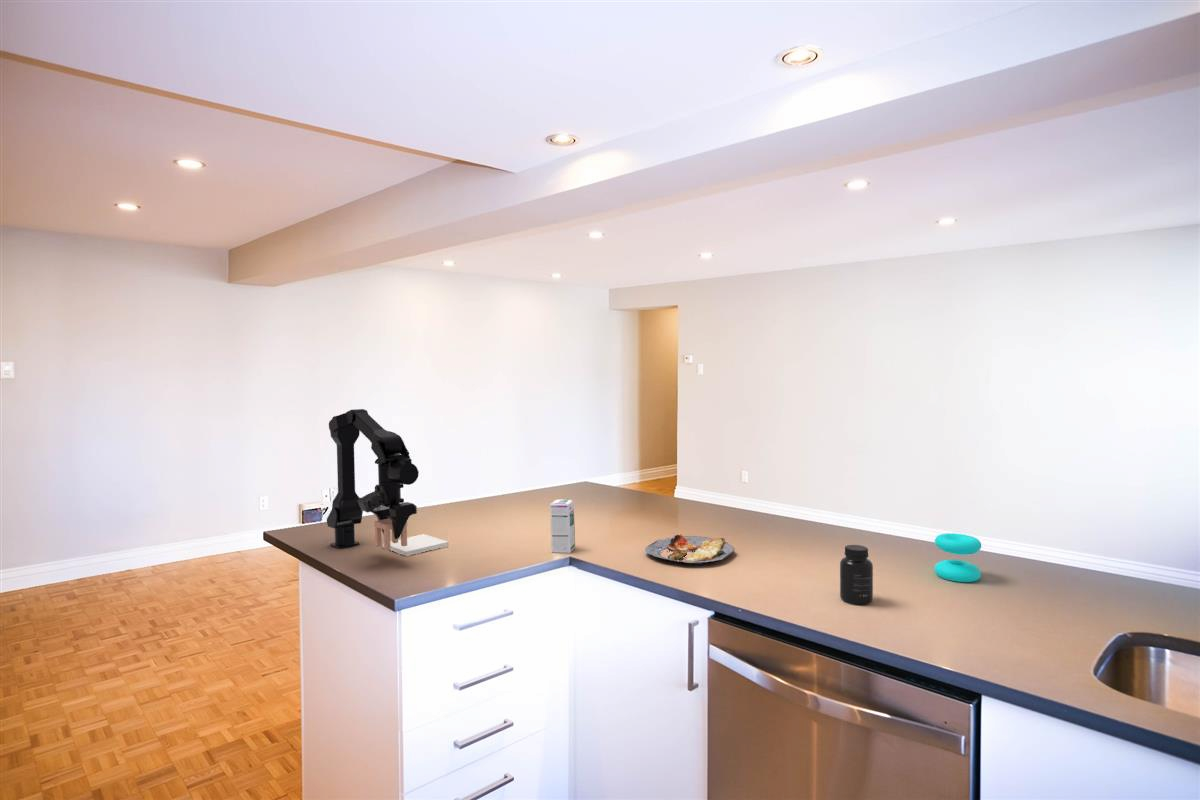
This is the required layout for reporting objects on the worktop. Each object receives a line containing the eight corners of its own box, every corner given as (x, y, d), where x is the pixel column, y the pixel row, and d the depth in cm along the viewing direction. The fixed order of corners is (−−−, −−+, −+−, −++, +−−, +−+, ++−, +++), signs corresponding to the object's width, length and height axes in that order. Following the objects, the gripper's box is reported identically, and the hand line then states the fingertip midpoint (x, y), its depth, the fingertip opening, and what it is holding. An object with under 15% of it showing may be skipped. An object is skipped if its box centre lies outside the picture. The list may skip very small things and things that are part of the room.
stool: (374, 546, 177) (374, 521, 177) (396, 541, 181) (395, 517, 181) (386, 550, 172) (385, 524, 172) (407, 545, 177) (407, 520, 177)
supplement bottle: (834, 595, 146) (834, 543, 145) (863, 594, 146) (863, 542, 146) (848, 606, 139) (848, 552, 138) (878, 605, 139) (879, 550, 139)
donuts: (990, 542, 152) (947, 542, 152) (989, 583, 152) (947, 584, 152) (967, 531, 162) (927, 532, 162) (966, 570, 162) (927, 571, 162)
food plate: (670, 538, 197) (670, 527, 197) (744, 549, 185) (744, 537, 185) (633, 562, 175) (632, 549, 175) (713, 575, 164) (713, 562, 163)
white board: (382, 547, 191) (382, 543, 191) (424, 538, 201) (423, 534, 201) (406, 556, 182) (406, 551, 181) (448, 546, 192) (448, 541, 192)
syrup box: (570, 553, 182) (569, 503, 182) (550, 552, 184) (549, 502, 183) (575, 548, 188) (574, 499, 187) (556, 547, 189) (555, 498, 189)
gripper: (345, 481, 177) (347, 536, 178) (378, 489, 164) (379, 549, 165) (383, 475, 185) (385, 529, 186) (417, 483, 172) (418, 540, 173)
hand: (391, 536), depth 177 cm, fingers closed on stool, 6 cm apart
